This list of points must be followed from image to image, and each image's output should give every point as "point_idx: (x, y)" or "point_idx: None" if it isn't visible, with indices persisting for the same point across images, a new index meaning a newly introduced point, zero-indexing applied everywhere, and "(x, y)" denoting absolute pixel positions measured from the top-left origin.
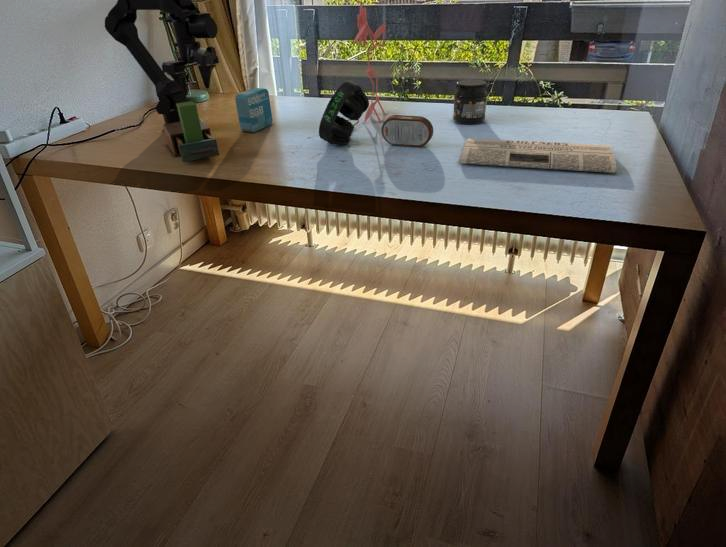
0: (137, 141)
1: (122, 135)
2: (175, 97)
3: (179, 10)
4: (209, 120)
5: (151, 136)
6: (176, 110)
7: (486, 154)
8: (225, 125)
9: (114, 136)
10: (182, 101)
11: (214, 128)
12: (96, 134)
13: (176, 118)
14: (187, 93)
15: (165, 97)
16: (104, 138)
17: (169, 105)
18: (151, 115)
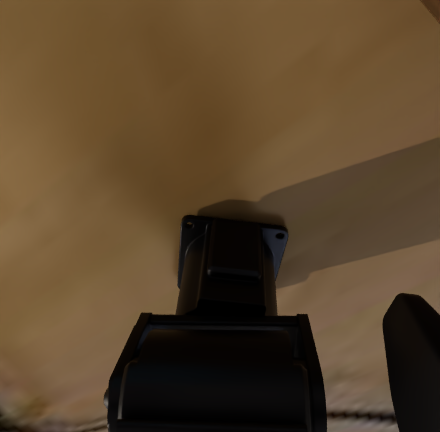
0: (436, 298)
1: (348, 375)
2: (273, 387)
3: None
4: (17, 203)
5: (354, 290)
6: (228, 319)
7: None
8: (30, 25)
9: (363, 387)
10: (194, 340)
11: (127, 61)
12: (344, 428)
13: (260, 277)
14: (420, 304)
15: (324, 428)
16: (389, 397)
17: (316, 357)
18: (101, 413)
